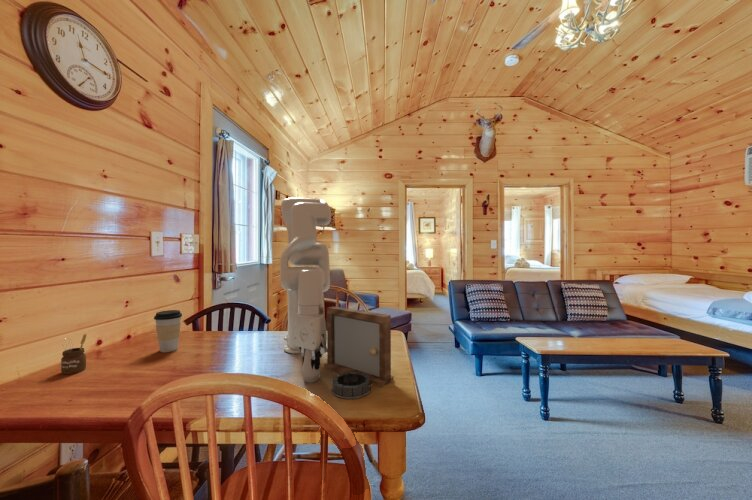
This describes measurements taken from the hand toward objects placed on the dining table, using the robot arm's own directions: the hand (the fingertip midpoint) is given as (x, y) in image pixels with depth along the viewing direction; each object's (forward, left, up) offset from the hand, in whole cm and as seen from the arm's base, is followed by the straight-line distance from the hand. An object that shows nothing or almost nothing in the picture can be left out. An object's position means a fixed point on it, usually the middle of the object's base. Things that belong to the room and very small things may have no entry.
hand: (311, 369), depth 95 cm
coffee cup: (-67, -15, -4) cm, 69 cm away
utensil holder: (-68, -42, -4) cm, 80 cm away
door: (+8, +11, -2) cm, 14 cm away
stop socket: (+14, +2, -3) cm, 15 cm away
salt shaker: (0, 0, -3) cm, 3 cm away
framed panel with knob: (+8, +12, -3) cm, 15 cm away
